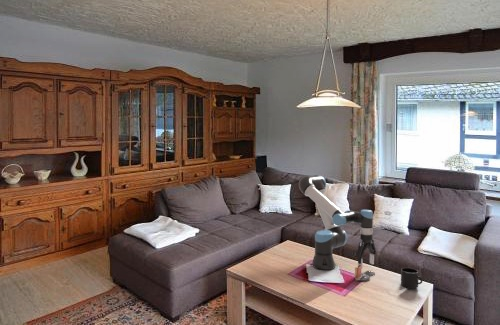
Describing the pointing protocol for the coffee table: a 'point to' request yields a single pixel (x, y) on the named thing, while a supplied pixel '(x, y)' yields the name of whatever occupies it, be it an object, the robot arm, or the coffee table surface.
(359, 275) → the crank
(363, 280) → the crank base
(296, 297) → the coffee table surface
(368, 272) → the pad
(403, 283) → the mug
